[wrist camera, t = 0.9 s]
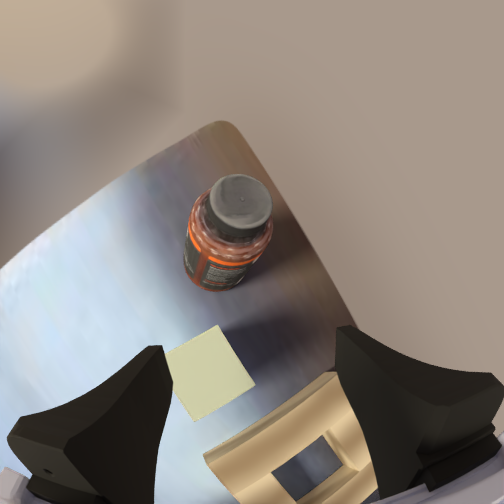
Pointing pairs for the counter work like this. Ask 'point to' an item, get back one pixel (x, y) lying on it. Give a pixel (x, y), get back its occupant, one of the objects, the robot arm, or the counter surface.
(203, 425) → the counter surface
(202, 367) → the peg
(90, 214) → the counter surface
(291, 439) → the well block
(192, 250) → the supplement bottle
